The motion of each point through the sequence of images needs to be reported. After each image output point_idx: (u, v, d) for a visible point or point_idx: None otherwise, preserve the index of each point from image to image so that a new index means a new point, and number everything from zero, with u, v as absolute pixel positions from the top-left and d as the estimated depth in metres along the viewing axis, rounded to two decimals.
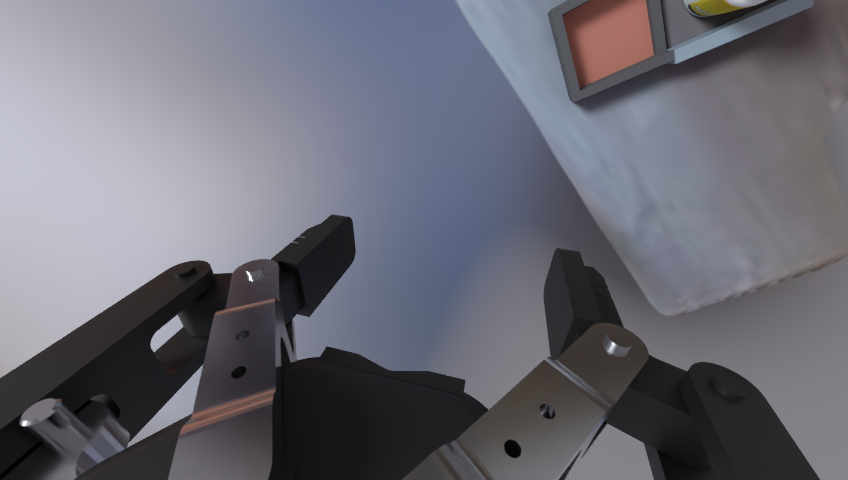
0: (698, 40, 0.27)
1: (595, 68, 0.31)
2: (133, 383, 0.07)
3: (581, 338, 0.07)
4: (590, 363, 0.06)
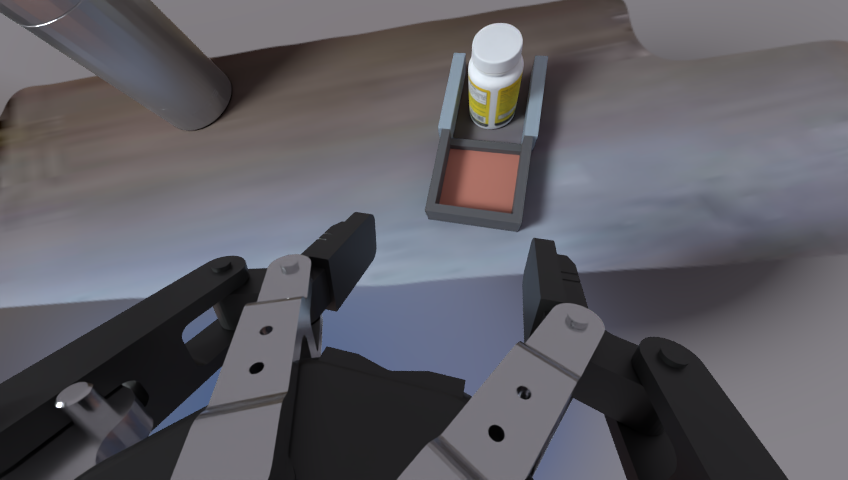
0: (527, 118, 0.29)
1: (500, 199, 0.29)
2: (163, 372, 0.07)
3: (545, 320, 0.07)
4: (556, 342, 0.07)
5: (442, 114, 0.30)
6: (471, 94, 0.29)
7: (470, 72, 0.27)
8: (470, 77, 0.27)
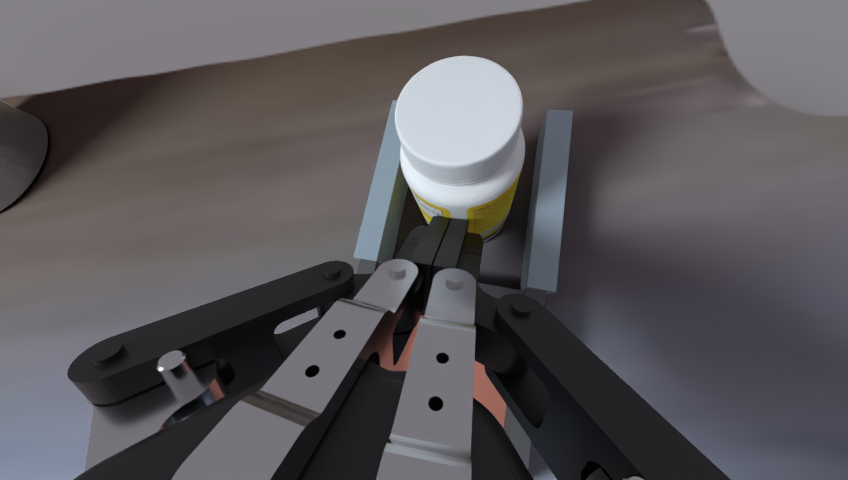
0: (533, 248, 0.14)
1: None
2: (251, 358, 0.08)
3: (432, 290, 0.08)
4: (446, 305, 0.08)
5: (363, 227, 0.15)
6: (415, 197, 0.14)
7: (403, 164, 0.12)
8: (404, 174, 0.12)
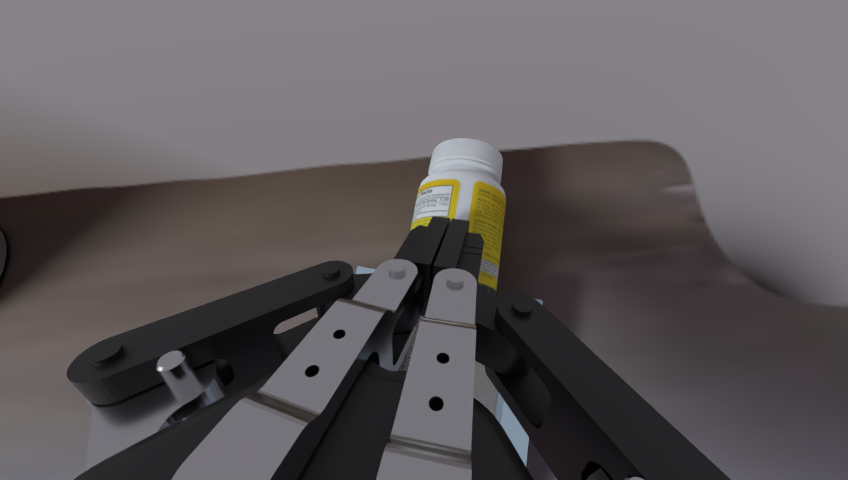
0: None
1: None
2: (250, 358, 0.08)
3: (432, 290, 0.08)
4: (447, 305, 0.08)
5: None
6: (418, 218, 0.15)
7: (424, 180, 0.16)
8: (423, 182, 0.16)
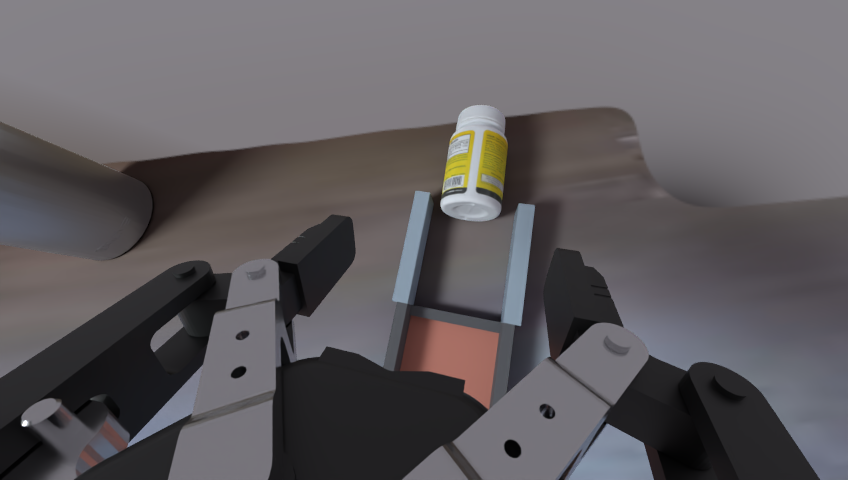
0: (507, 297, 0.22)
1: None
2: (133, 383, 0.07)
3: (581, 338, 0.07)
4: (590, 363, 0.06)
5: (398, 280, 0.23)
6: (450, 157, 0.24)
7: (453, 135, 0.25)
8: (452, 136, 0.25)
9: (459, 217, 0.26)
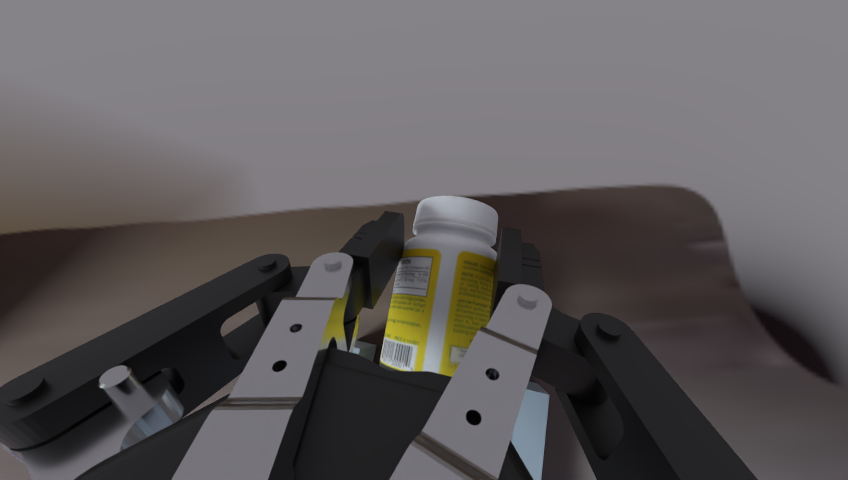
0: None
1: None
2: (200, 362, 0.07)
3: (500, 303, 0.08)
4: (512, 322, 0.07)
5: None
6: (396, 291, 0.13)
7: (405, 244, 0.14)
8: None
9: None
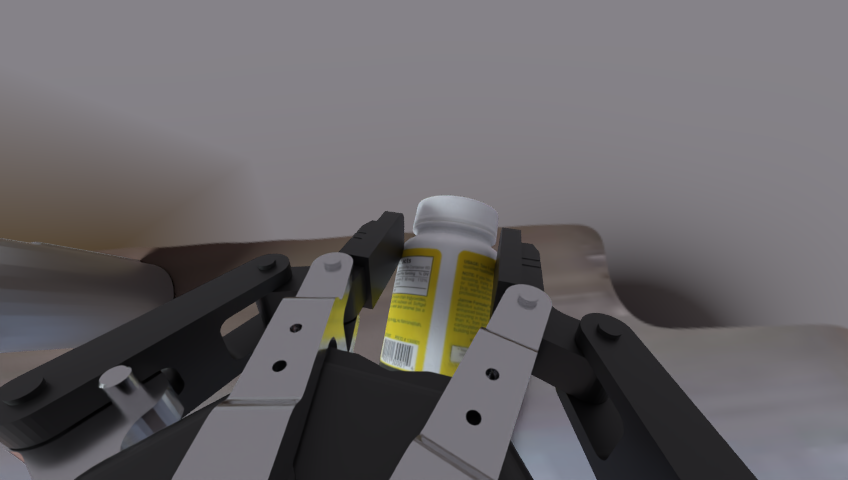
0: None
1: None
2: (199, 362, 0.07)
3: (500, 303, 0.08)
4: (512, 322, 0.07)
5: None
6: (396, 291, 0.13)
7: (405, 243, 0.14)
8: (404, 247, 0.14)
9: None
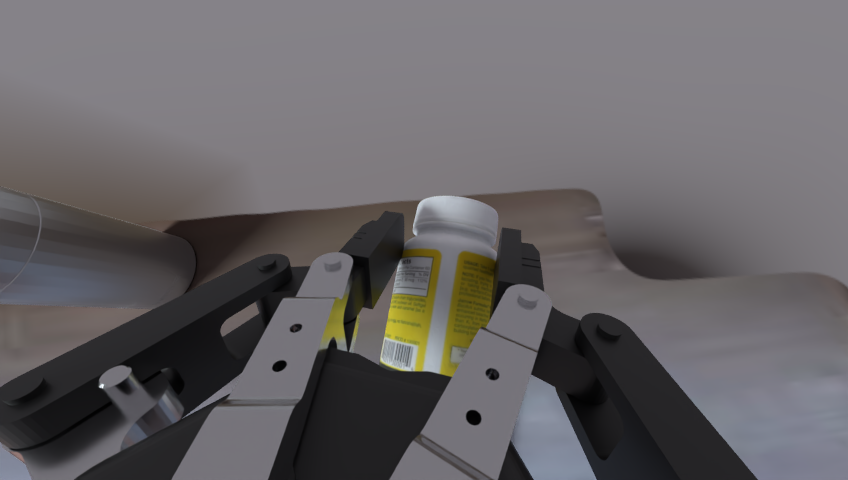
0: None
1: None
2: (200, 362, 0.07)
3: (500, 303, 0.08)
4: (512, 322, 0.07)
5: None
6: (396, 291, 0.13)
7: (405, 244, 0.14)
8: (404, 247, 0.14)
9: None
